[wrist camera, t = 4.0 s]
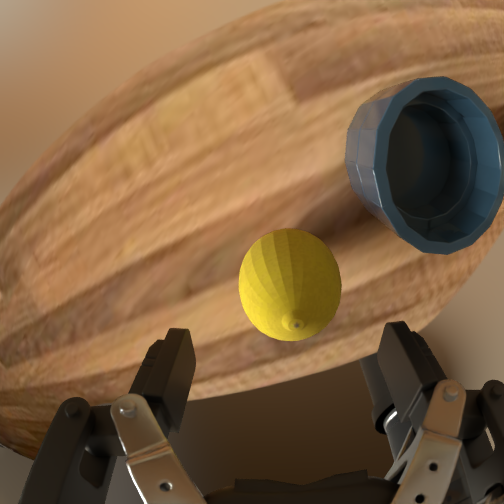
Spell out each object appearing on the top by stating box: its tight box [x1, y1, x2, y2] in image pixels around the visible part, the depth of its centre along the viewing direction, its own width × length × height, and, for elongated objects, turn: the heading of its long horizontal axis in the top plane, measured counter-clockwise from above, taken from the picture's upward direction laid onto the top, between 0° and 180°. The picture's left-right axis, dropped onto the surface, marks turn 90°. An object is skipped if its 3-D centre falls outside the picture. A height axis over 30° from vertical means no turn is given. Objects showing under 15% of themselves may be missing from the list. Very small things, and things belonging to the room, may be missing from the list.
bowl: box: [345, 76, 504, 255], centre depth 14 cm, size 9×9×6 cm
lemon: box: [239, 228, 342, 341], centre depth 15 cm, size 6×6×8 cm
